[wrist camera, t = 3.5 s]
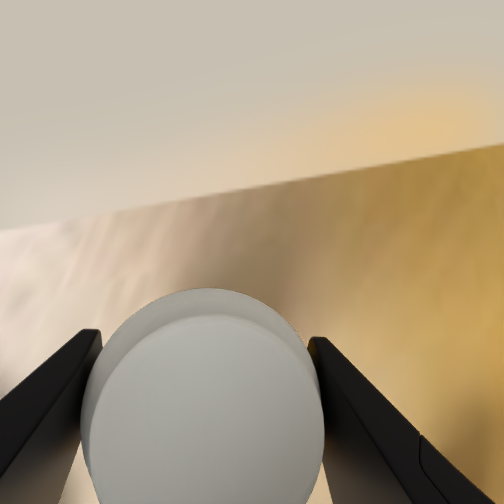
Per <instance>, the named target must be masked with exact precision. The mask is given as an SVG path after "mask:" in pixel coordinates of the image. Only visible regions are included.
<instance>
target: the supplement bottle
mask: <svg viewBox="0 0 504 504" xmlns="http://www.w3.org/2000/svg"><path fill="white" fill-rule="evenodd" d="M80 434H81V443H82V449H83V455H84V459H85V463H86V466H87V468H88V471H89V474H90V476H91V479H92V481H93V485H94V488H95V491H96V494H97V497H98V500H99V502H100V504H306V502H307V500H308V499H309V497H310V495H311V493H312V491H313V488H314V485H315V483H316V480H317V477H318V473H319V470H320V466H321V462H322V457H323V450H324V419H323V411H322V406H321V394H320V388H319V382H318V378H317V374H316V370H315V367H314V365H313V362H312V359H311V357H310V355H309V352H308V350H307V348H306V347H305V345H304V343H303V341H302V340H301V338H300V337H299V335H298V334H297V333H296V331H295V330H294V329H293V328H292V326H291V325H290V324H289V323H288V322H287V321H286V320H285V319H284V318H283V317H282V316H281V315H280V314H278V313H277V312H276V311H275V310H273V309H272V308H271V307H269V306H267V305H266V304H264V303H262V302H261V301H259V300H257V299H255V298H252V297H250V296H248V295H245V294H242V293H239V292H235V291H232V290H226V289H218V288H198V289H190V290H184V291H180V292H177V293H173V294H170V295H167V296H165V297H162V298H160V299H158V300H155V301H153V302H151V303H150V304H148V305H146V306H145V307H143V308H142V309H140V310H139V311H137V312H136V313H135V314H134V315H132V316H131V317H130V318H129V319H128V320H126V321H125V322H124V323H123V324H122V325H121V326H120V327H119V328H118V329H117V330H116V331H115V333H114V334H113V335H112V336H111V338H110V339H109V340H108V342H107V343H106V345H105V346H104V348H103V349H102V351H101V352H100V354H99V356H98V358H97V360H96V361H95V363H94V365H93V368H92V370H91V372H90V375H89V378H88V381H87V384H86V388H85V392H84V395H83V401H82V408H81V418H80Z"/></svg>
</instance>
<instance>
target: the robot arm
mask: <svg viewBox="0 0 504 504" xmlns="http://www.w3.org/2000/svg"><path fill="white" fill-rule="evenodd" d="M102 349H103V346H102V338H101V332H100V330H98V329H83V330H81V331H80V332H78V333H77V334H76V335H75V336H74V337H73V338H71V339H70V340H69V341H68V342H67V343H66V344H65V345H63V346H62V347H61V348H60V349H59V350H58V351H56V352H55V353H54V354H53V355H52V356H51V357H49V358H48V359H47V360H46V361H45V362H44V363H43V364H41V365H40V366H39V367H38V368H37V369H36V370H34V371H33V372H32V373H31V374H30V375H29V376H27V377H26V378H25V379H24V380H23V381H22V382H21V383H19V384H18V385H17V386H16V387H15V388H14V389H12V390H11V391H10V392H9V393H8V394H7V395H5V396H4V397H3V398H2V399H1V400H0V504H58V503H59V500H60V497H61V494H62V491H63V489H64V486H65V483H66V480H67V477H68V475H69V472H70V469H71V466H72V463H73V461H74V458H75V455H76V452H77V450H78V447H79V444H80V441H81V434H80V418H81V408H82V401H83V395H84V392H85V388H86V384H87V381H88V378H89V375H90V372H91V370H92V368H93V365H94V363H95V361H96V360H97V358H98V356H99V354H100V352H101V351H102ZM307 350H308V352H309V355H310V357H311V359H312V362H313V365H314V367H315V370H316V374H317V378H318V382H319V388H320V394H321V406H322V411H323V419H324V450H323V457H322V462H323V466H324V470H325V474H326V478H327V482H328V486H329V490H330V494H331V498H332V502H333V504H496V503H494V502H493V501H492V500H491V499H490V498H489V497H488V496H486V495H485V494H484V493H483V492H482V491H481V490H480V489H478V488H477V487H476V486H475V485H474V484H473V483H472V482H471V481H470V480H469V479H467V478H466V477H465V476H464V475H463V474H462V473H461V472H460V471H459V470H458V469H456V468H455V467H454V466H453V465H452V464H451V463H450V462H449V461H448V460H447V459H446V458H445V457H444V456H443V455H442V454H441V453H440V452H439V451H438V450H437V449H436V448H435V447H434V446H433V445H432V444H431V443H430V442H429V441H428V440H427V439H426V438H425V437H424V436H423V435H420V432H419V431H418V430H417V429H416V428H415V427H414V426H413V425H412V424H411V423H410V422H409V421H408V420H407V419H406V418H405V417H404V416H403V415H402V414H401V413H400V412H399V411H398V410H397V409H396V408H395V407H394V406H393V405H392V404H391V403H390V402H389V401H388V400H387V399H386V398H385V397H384V396H383V395H382V394H381V393H380V392H379V391H378V390H377V389H376V388H375V387H374V385H373V384H372V383H371V382H370V381H369V380H368V379H367V378H366V377H365V376H364V375H363V374H362V373H361V372H360V371H359V370H358V369H357V368H356V367H355V366H354V365H353V364H352V363H351V362H350V361H349V360H348V359H347V358H346V357H345V356H344V355H343V354H342V353H341V352H340V351H339V350H338V349H337V348H336V347H335V346H334V345H333V344H332V343H331V342H330V341H329V340H328V339H327V338H326V337H316V336H313V337H311V338H310V340H309V344H308V347H307Z"/></svg>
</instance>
